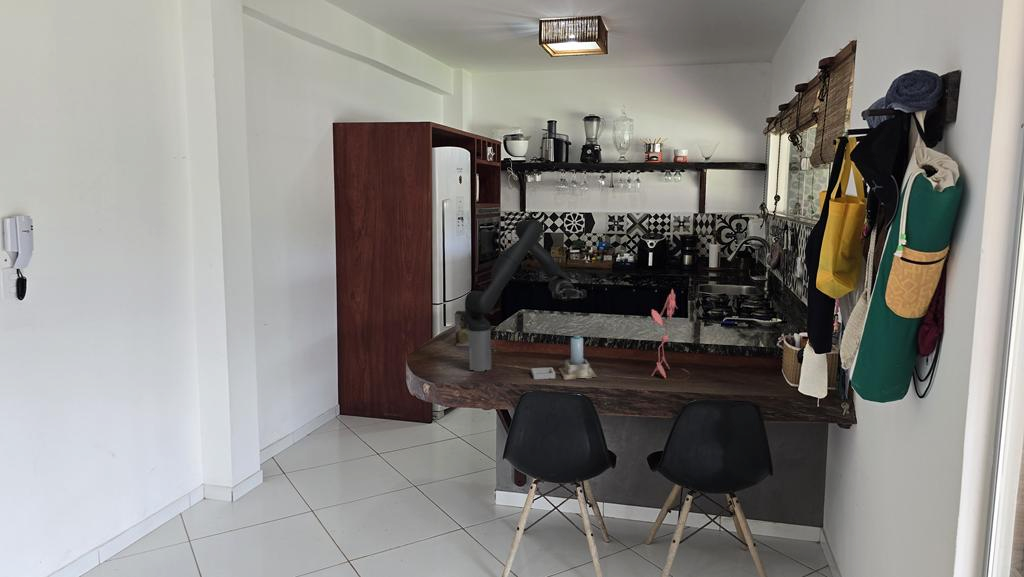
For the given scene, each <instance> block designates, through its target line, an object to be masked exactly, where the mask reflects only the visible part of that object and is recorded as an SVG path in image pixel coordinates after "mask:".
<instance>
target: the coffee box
mask: <svg viewBox="0 0 1024 577" xmlns="http://www.w3.org/2000/svg"><path fill="white" fill-rule="evenodd" d="M454 323H455V324H454V330H455V346H456V347H469V332H468V325H467V322H466V313H465V310H457V311H456V312H455V313H454Z"/></svg>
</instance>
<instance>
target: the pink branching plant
mask: <svg viewBox="0 0 1024 577" xmlns="http://www.w3.org/2000/svg"><path fill="white" fill-rule="evenodd" d="M675 308H676V309H677V310H678V309H679V308H678V306H677V305H676V293H675V291H674V289H673V288H672V289H671V291H670V294H668V296H667V298H666V301H665V302H664V306H663V309H662V310H661V312H660V313H658V311H657V310H655V309H653V308H652V309H651V310H650V311H651V317H652V322H653V324H656V323H657V324H658V325H659V326H660V327H662V326H663V324H665V335H663V336H661V344H660V345H659V347H658V361H657V362H656V367H655V369H654V370H653V372H652V374H651V377H653V376H654V375H655V373H656V372H657V371H659V373H660V375H661V376H663V377H664V379H667V376H666V371H665V369H664V367H663V365H662V363H663V362H664V365H666V367H667V369H668V370H670V366H669V364H668V363H667V361H666V358H665V353H664V343H667V342H668V341H669V337H668V336H667V333H668V327H669V326H668V325H669V324H668V323H667V322H666V321H665V320H664V319H663V318H662V316H663V314H664V312H665V310H666V309H667V310H666V316H667V317H668V320H669V321H671V320H672V316H673V315H674V312H675ZM660 348H662V356H661V361H660ZM682 370H684V371H685V372H687V373H690V371H687V369H684V368H682ZM688 378H689V376H687V377H685V378H684V380H686V379H688ZM646 380H648V381H650V379H649V378H646Z"/></svg>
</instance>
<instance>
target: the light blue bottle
mask: <svg viewBox="0 0 1024 577" xmlns="http://www.w3.org/2000/svg"><path fill="white" fill-rule="evenodd" d="M583 359H584V338H583V337H582V336H581V335H580V334H574V335H573V337H570V360H571V365H582V364H583Z"/></svg>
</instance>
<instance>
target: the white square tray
mask: <svg viewBox="0 0 1024 577" xmlns="http://www.w3.org/2000/svg"><path fill="white" fill-rule="evenodd" d="M550 372H551V373H550ZM531 375H532V378H533V380H544V379H546V380H547V379H549V378H550V379H556V372H555V370H554V368H553V367H536V368H533V367H532V368H531ZM550 379H549V380H550Z"/></svg>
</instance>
